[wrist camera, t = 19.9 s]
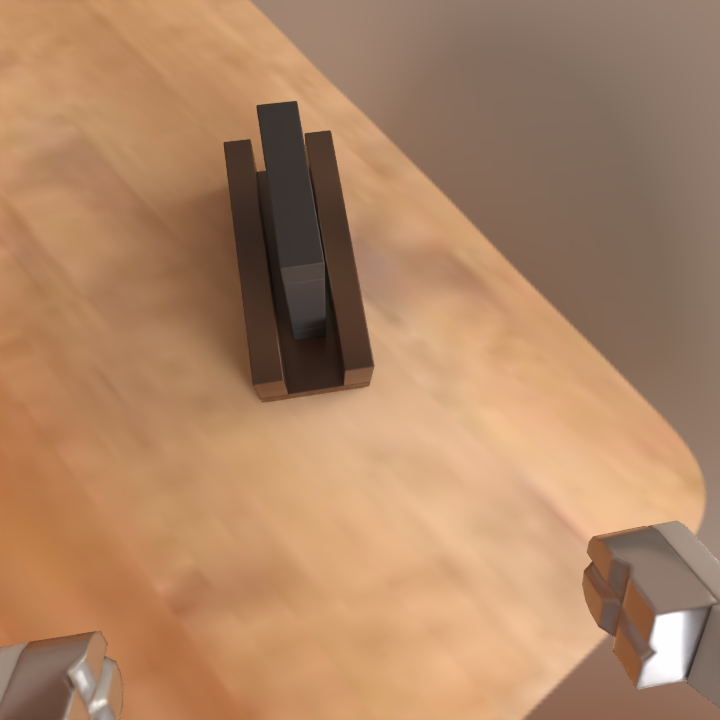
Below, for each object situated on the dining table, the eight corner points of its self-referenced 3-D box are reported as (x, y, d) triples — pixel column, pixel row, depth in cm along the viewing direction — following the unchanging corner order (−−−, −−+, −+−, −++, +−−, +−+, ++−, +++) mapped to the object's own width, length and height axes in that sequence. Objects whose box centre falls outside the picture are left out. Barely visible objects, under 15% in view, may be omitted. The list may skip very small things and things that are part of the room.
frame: (326, 336, 31) (324, 263, 23) (294, 340, 31) (280, 269, 23) (305, 210, 34) (297, 100, 25) (275, 213, 33) (256, 104, 25)
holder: (369, 386, 32) (374, 366, 28) (262, 403, 31) (253, 385, 27) (330, 172, 36) (330, 129, 32) (234, 184, 35) (223, 141, 31)
